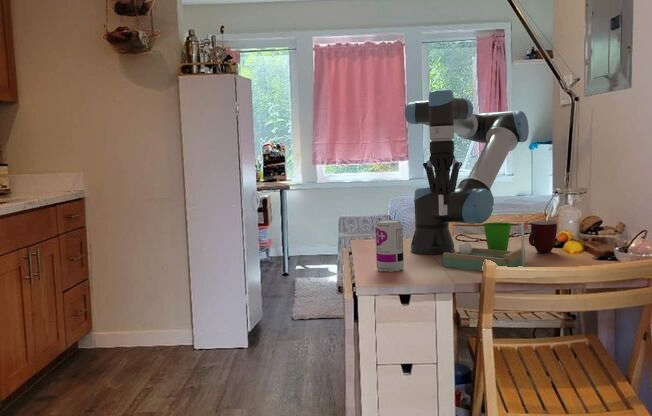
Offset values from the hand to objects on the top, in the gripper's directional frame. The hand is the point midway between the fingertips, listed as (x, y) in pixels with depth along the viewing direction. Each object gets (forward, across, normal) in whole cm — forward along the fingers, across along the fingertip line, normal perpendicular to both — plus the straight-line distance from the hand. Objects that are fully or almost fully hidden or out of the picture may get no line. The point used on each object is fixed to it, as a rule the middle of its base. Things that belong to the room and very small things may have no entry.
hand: (443, 214), depth 188 cm
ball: (+12, +8, 0) cm, 14 cm away
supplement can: (+16, -8, -18) cm, 25 cm away
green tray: (+15, +14, 0) cm, 20 cm away
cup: (+15, +12, +14) cm, 24 cm away
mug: (+15, +20, +28) cm, 38 cm away
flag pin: (+15, +25, +2) cm, 30 cm away
